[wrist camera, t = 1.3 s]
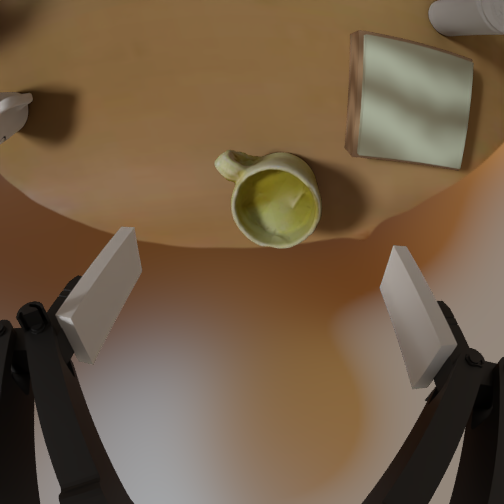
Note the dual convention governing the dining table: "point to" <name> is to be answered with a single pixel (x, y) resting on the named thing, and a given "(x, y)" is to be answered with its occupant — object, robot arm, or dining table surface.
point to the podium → (407, 101)
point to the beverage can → (467, 17)
